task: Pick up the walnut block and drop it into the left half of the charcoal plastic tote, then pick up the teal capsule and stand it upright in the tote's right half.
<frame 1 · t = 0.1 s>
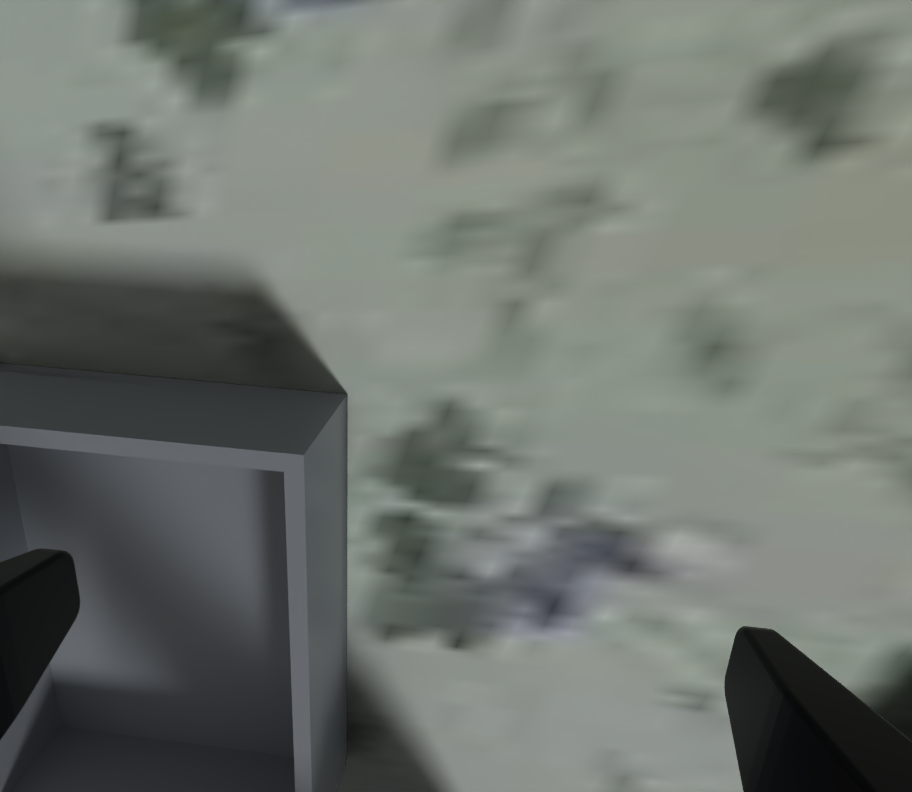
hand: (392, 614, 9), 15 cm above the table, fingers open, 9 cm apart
tote: (186, 578, 28), on the table
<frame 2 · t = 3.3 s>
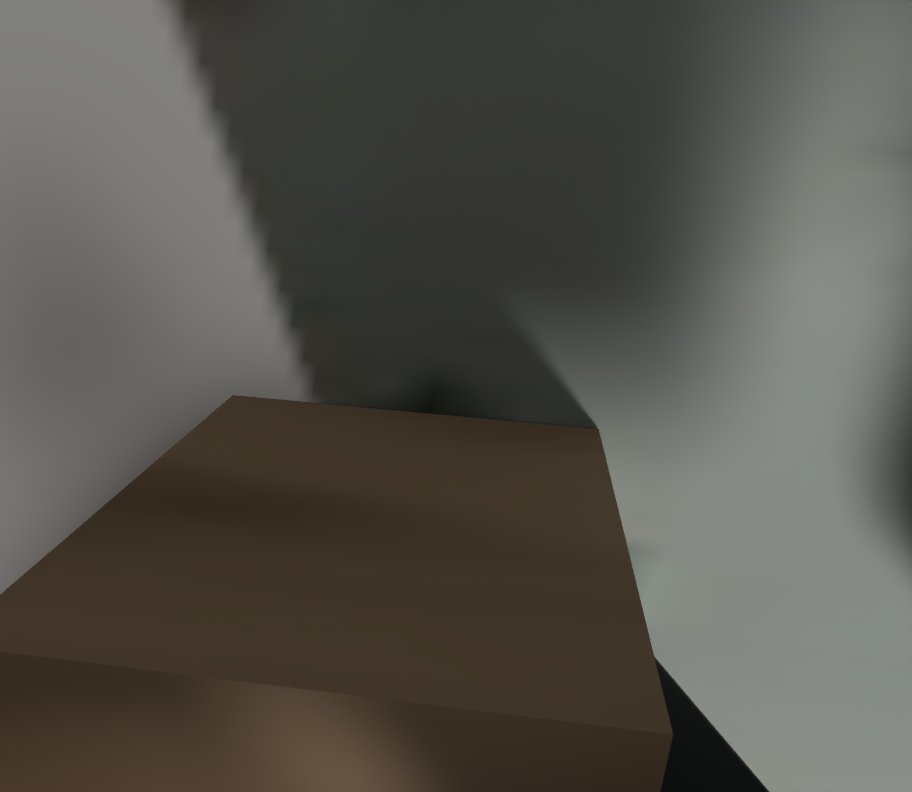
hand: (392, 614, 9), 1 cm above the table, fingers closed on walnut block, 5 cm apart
walnut block: (406, 568, 10), on the table, touching gripper
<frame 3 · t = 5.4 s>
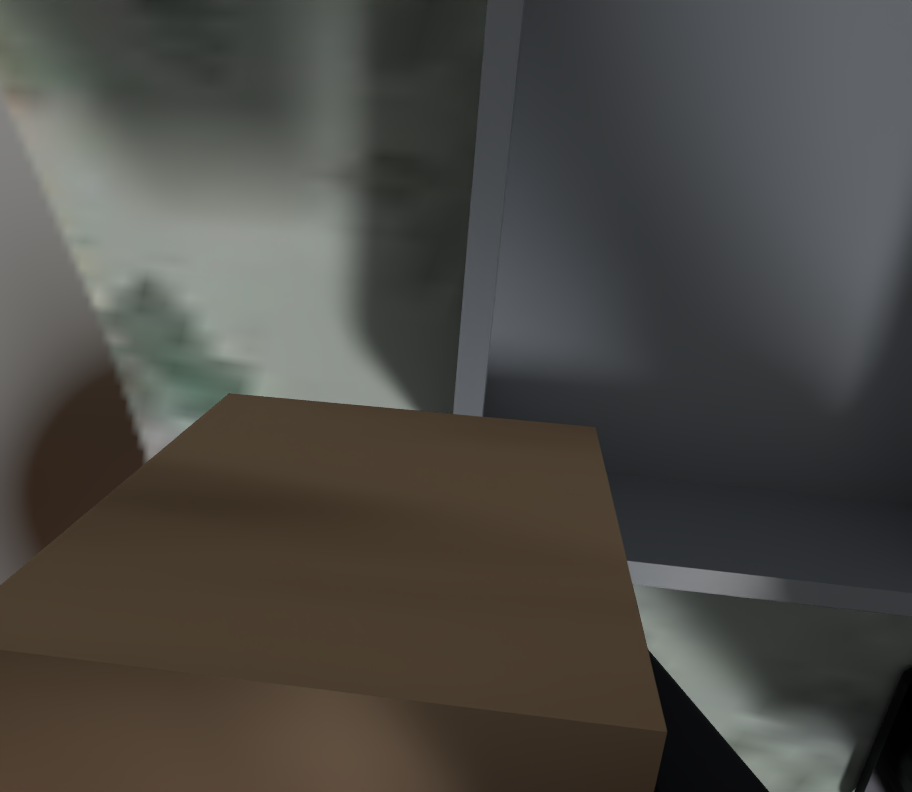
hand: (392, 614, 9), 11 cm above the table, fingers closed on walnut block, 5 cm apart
tote: (756, 176, 17), on the table
walnut block: (403, 566, 10), point 10 cm above the table, touching gripper
when the fingers open (3 cm above the table, at t = 7.7 s): walnut block drops 2 cm, resting on tote.
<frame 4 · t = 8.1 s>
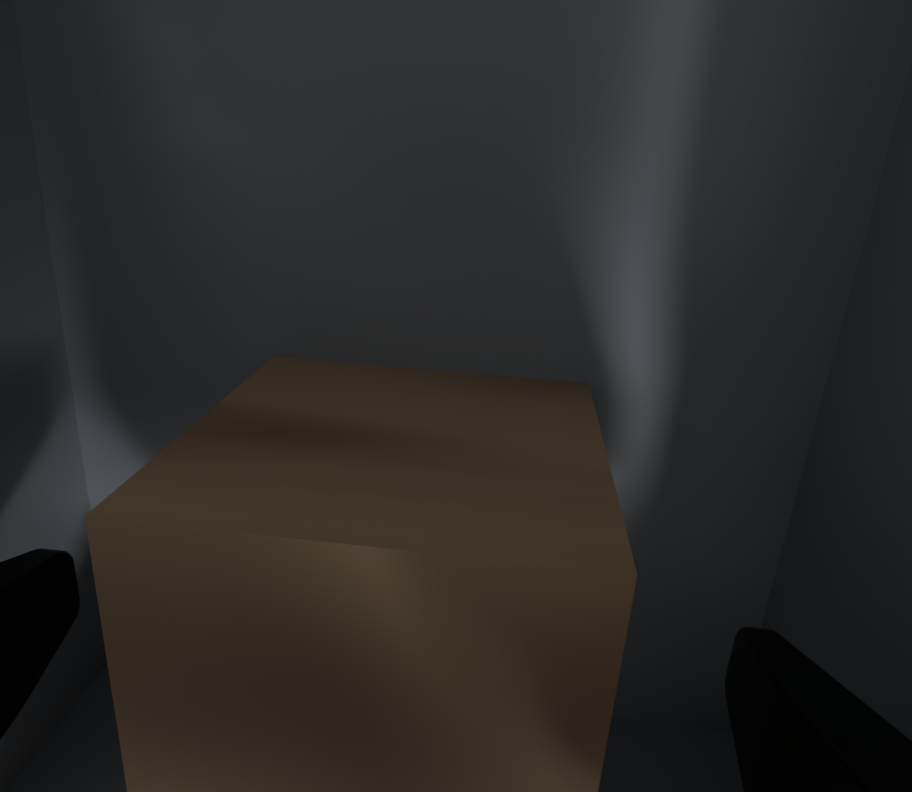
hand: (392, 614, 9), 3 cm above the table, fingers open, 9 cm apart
tote: (438, 267, 11), on the table
walnut block: (422, 508, 12), point 1 cm above the table, touching tote
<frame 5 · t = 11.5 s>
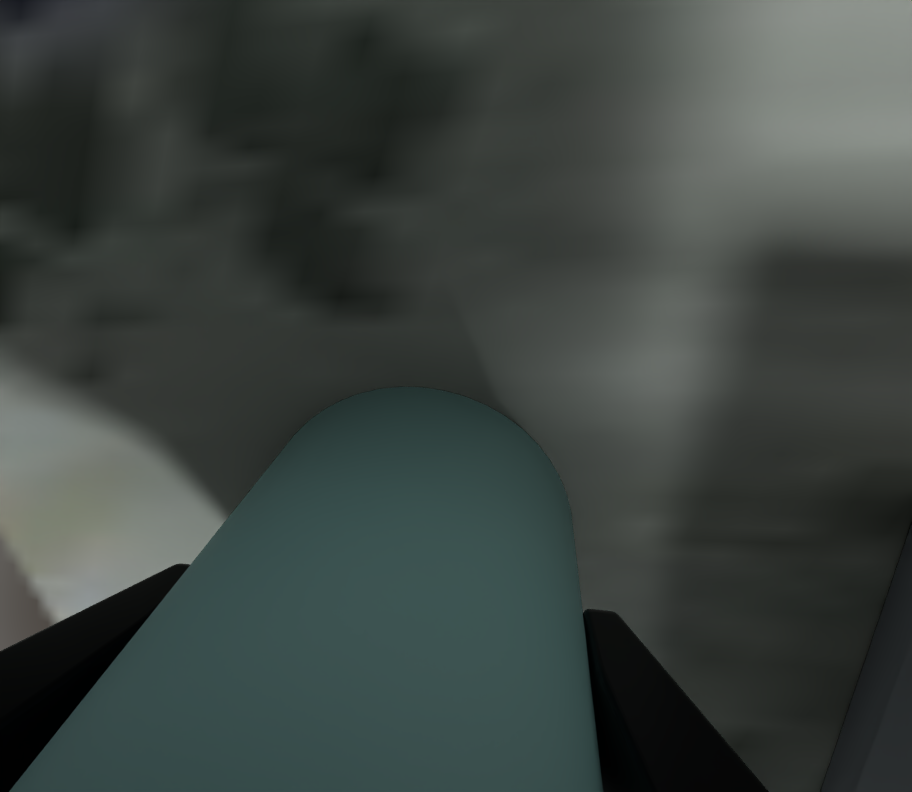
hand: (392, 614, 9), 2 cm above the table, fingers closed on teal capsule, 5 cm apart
teal capsule: (416, 532, 11), on the table, touching gripper
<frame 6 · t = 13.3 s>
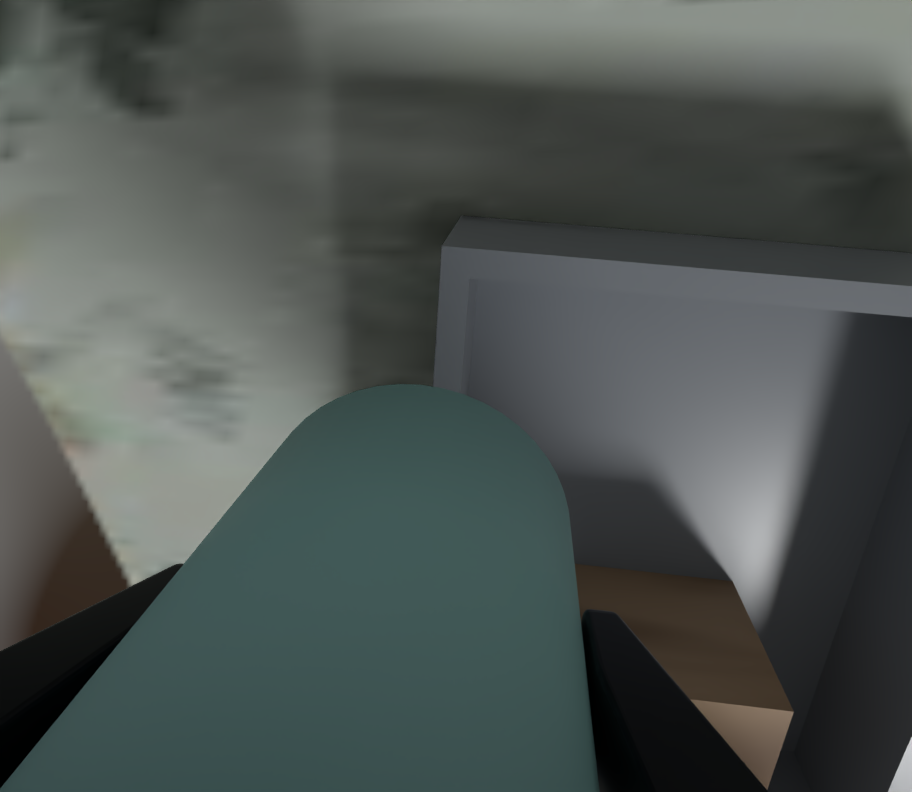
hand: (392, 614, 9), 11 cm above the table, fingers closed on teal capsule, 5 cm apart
tote: (652, 517, 21), on the table
teal capsule: (413, 530, 11), point 9 cm above the table, touching gripper
walnut block: (636, 636, 22), point 1 cm above the table, touching tote
when the fingers open (4 cm above the table, at t = 15.5 s): teal capsule drops 2 cm, resting on tote.
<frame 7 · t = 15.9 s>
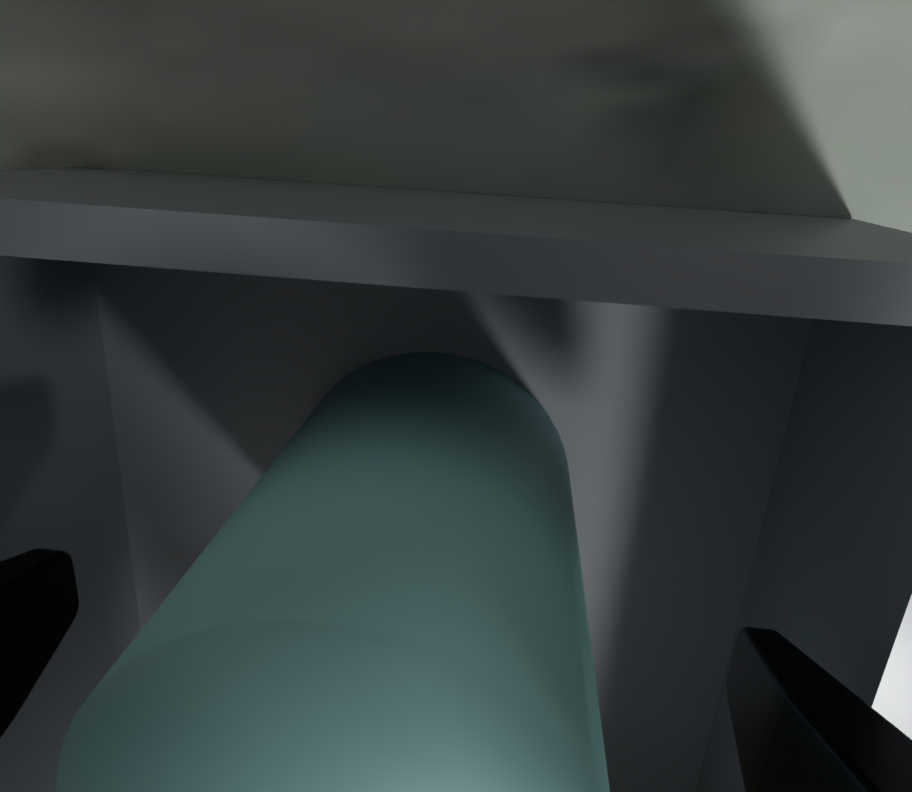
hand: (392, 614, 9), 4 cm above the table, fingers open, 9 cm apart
tote: (427, 611, 15), on the table
teal capsule: (431, 482, 13), point 1 cm above the table, touching tote
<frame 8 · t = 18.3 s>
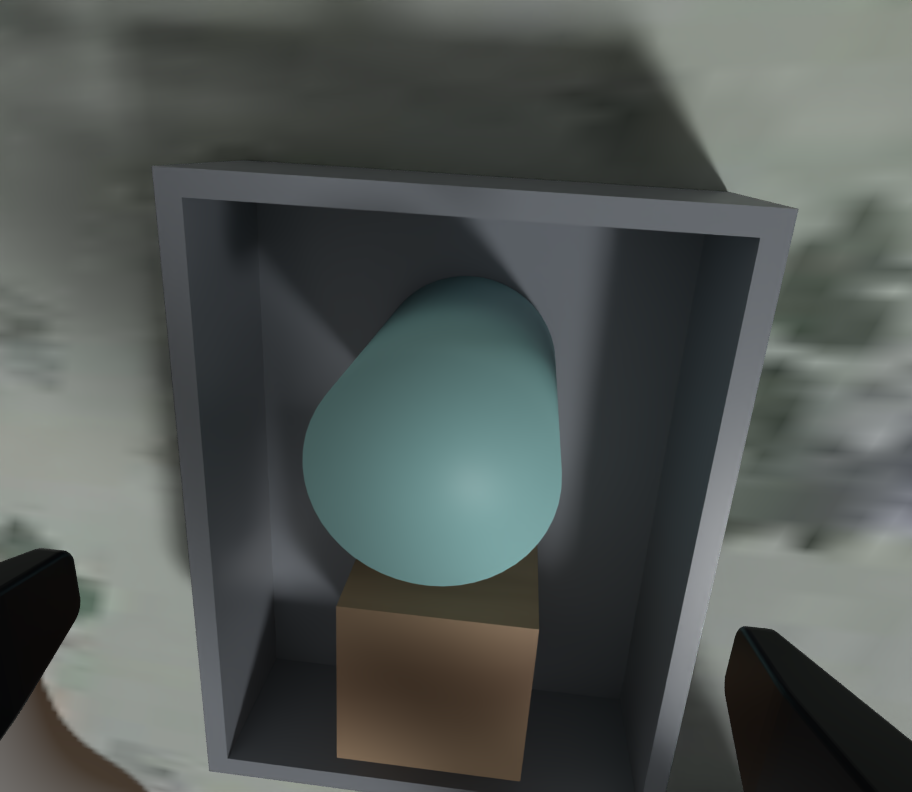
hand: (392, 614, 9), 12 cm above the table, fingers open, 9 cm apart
tote: (461, 460, 22), on the table
teal capsule: (467, 362, 20), point 1 cm above the table, touching tote
walnut block: (452, 580, 22), point 1 cm above the table, touching tote
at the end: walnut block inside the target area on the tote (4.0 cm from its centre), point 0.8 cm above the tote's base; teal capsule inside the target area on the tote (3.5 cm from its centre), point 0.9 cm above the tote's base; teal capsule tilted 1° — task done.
